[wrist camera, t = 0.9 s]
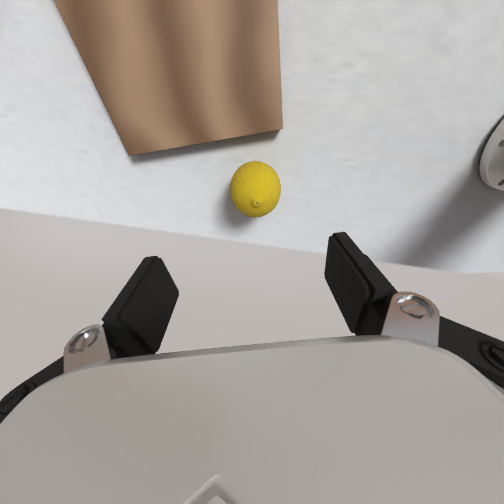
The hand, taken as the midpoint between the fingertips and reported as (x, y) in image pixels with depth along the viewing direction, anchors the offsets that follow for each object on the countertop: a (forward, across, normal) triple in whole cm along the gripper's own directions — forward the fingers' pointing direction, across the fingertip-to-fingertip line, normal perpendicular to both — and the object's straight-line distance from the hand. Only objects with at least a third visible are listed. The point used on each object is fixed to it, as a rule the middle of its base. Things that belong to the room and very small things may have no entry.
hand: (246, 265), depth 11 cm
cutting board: (+17, +4, -12) cm, 21 cm away
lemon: (+17, -1, 0) cm, 17 cm away
